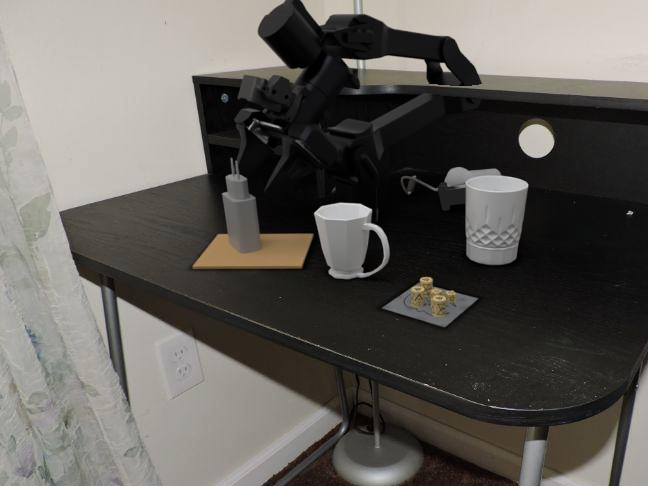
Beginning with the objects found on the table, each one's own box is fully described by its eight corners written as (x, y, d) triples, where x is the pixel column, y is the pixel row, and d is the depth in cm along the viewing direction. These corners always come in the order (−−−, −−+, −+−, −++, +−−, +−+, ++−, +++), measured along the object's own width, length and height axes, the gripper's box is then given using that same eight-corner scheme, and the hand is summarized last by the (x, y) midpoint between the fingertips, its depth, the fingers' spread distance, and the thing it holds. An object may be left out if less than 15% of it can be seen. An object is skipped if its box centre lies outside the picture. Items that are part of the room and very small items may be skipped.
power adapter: (241, 254, 76) (229, 165, 71) (227, 242, 80) (215, 157, 75) (263, 249, 78) (252, 161, 73) (248, 238, 82) (238, 154, 77)
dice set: (441, 318, 61) (442, 302, 60) (401, 306, 64) (401, 291, 63) (463, 300, 65) (463, 285, 64) (424, 290, 67) (424, 275, 66)
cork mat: (313, 236, 84) (313, 233, 84) (301, 268, 73) (301, 265, 73) (218, 236, 84) (218, 234, 84) (192, 269, 73) (192, 266, 73)
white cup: (484, 271, 72) (489, 194, 68) (450, 251, 78) (454, 179, 74) (533, 260, 75) (541, 186, 71) (497, 242, 82) (503, 172, 77)
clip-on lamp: (390, 216, 101) (482, 211, 91) (381, 182, 99) (474, 172, 88) (423, 194, 110) (510, 187, 99) (415, 162, 107) (504, 151, 97)
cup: (341, 257, 76) (339, 199, 73) (404, 274, 72) (404, 212, 68) (306, 275, 71) (301, 213, 68) (371, 294, 66) (369, 229, 63)
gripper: (238, 47, 79) (174, 139, 77) (312, 53, 66) (236, 163, 64) (293, 101, 87) (235, 185, 85) (368, 116, 74) (302, 215, 73)
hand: (250, 186), depth 77 cm, fingers open, 9 cm apart
